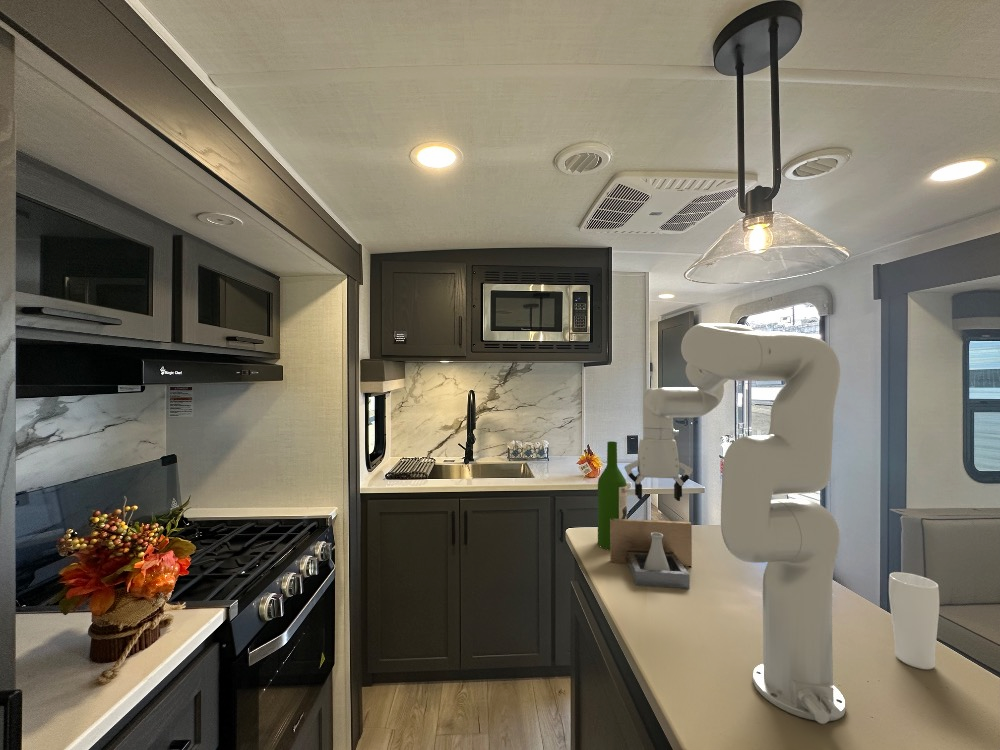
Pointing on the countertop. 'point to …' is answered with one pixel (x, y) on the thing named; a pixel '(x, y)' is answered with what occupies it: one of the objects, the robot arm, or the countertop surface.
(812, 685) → the robot arm
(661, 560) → the flask
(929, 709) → the countertop surface
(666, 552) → the cup bracket
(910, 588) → the drinking glass
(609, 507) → the wine bottle
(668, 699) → the countertop surface
